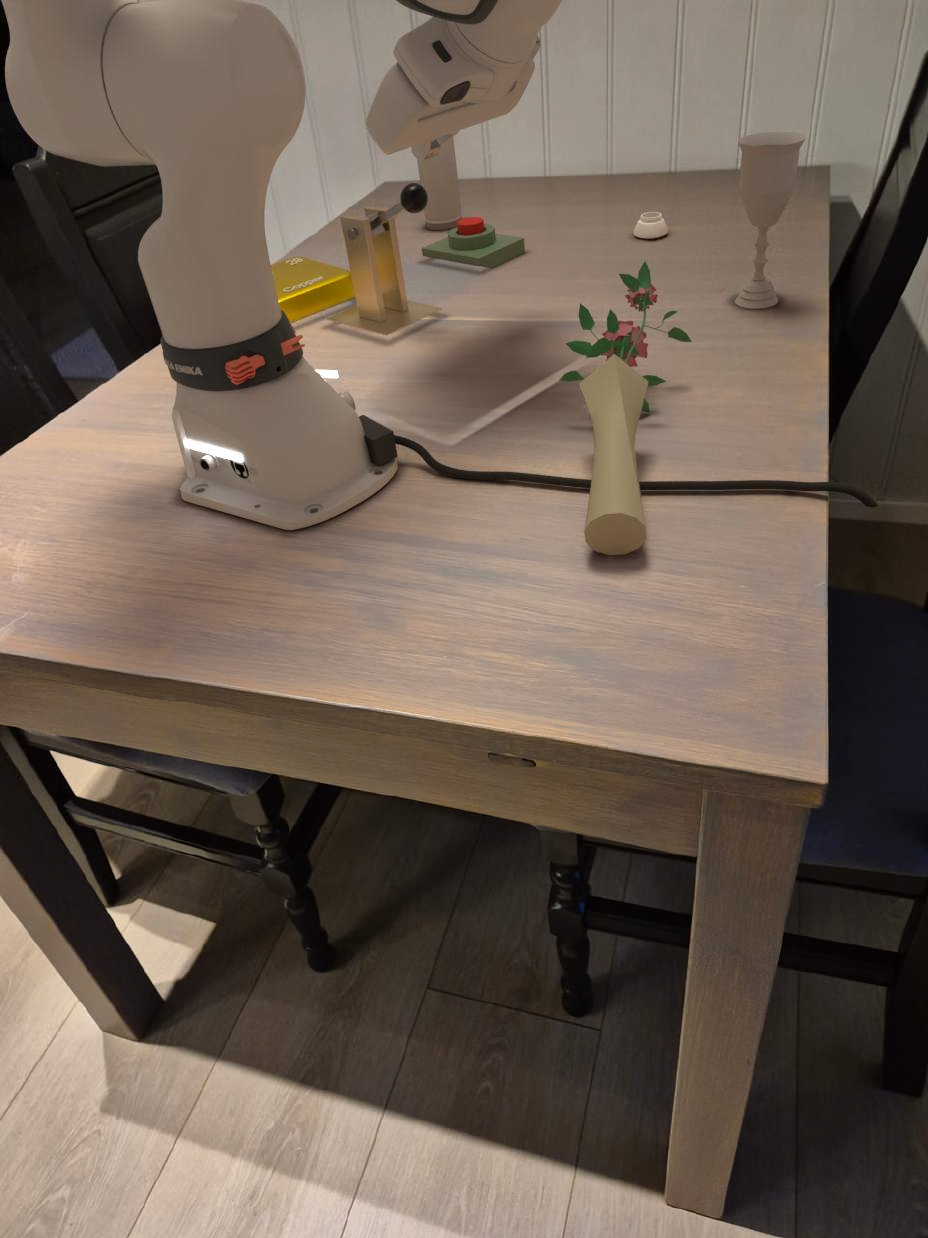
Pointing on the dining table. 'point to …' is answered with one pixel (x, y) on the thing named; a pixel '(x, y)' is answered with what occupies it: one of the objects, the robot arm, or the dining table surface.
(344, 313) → the bracket
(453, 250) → the button block
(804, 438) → the dining table surface
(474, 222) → the button
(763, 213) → the chalice
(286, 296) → the element tile
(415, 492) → the dining table surface
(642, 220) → the white jar
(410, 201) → the lever
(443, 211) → the travel mug
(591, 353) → the flower vase
